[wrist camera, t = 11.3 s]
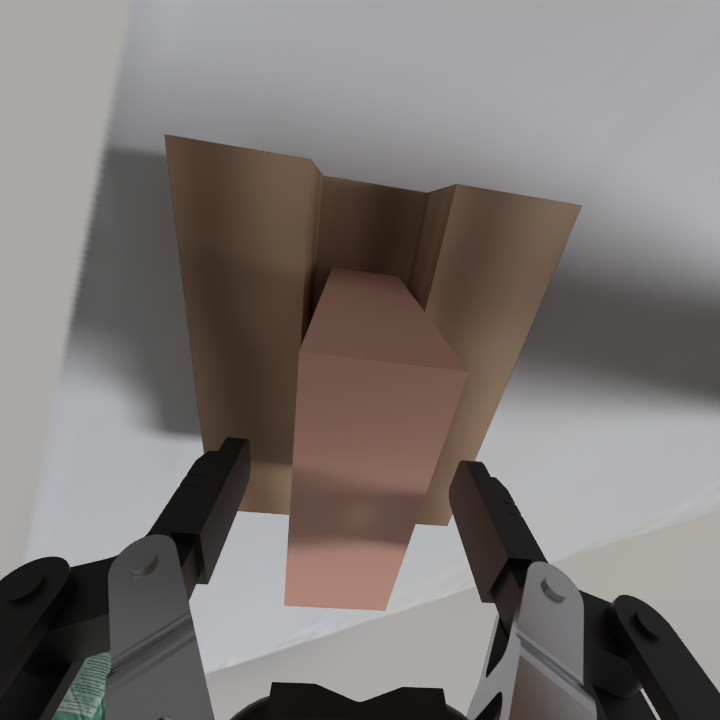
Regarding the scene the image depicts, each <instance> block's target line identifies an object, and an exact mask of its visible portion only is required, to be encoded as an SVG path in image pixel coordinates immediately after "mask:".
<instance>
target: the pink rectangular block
mask: <svg viewBox="0 0 720 720" xmlns="http://www.w3.org/2000/svg"><path fill="white" fill-rule="evenodd" d="M468 373H469V371H468V370H467V369H466V367H465V366H464V365H463V363H462V362H461V361H460V359H459V358H458V357H457V355H456V354H455V353H454V351H453V350H452V348H451V347H450V346H449V344H448V343H447V342H446V340H445V339H444V338H443V336H442V335H441V334H440V332H439V331H438V330H437V328H436V327H435V325H434V324H433V323H432V321H431V320H430V319H429V317H428V316H427V315H426V313H425V312H424V311H423V309H422V308H421V306H420V305H419V304H418V302H417V301H416V300H415V298H414V297H413V296H412V294H411V293H410V292H409V290H408V289H407V288H406V286H405V285H404V283H403V282H402V281H401V279H400V278H399V277H397V276H391V275H384V274H377V273H370V272H363V271H356V270H349V269H343V268H336V267H332V270H331V272H330V275H329V277H328V280H327V282H326V285H325V287H324V290H323V292H322V295H321V297H320V300H319V302H318V305H317V308H316V310H315V313H314V315H313V318H312V320H311V323H310V325H309V328H308V330H307V333H306V335H305V338H304V340H303V343H302V345H301V348H300V351H299V362H298V379H297V397H296V414H295V431H294V448H293V465H292V482H291V499H290V516H289V533H288V550H287V567H286V584H285V601H284V606H301V607H321V608H341V609H362V610H382V611H385V609H386V606H387V604H388V601H389V598H390V595H391V592H392V589H393V587H394V584H395V581H396V578H397V575H398V572H399V569H400V567H401V564H402V561H403V558H404V555H405V552H406V550H407V547H408V544H409V541H410V538H411V535H412V532H413V530H414V527H415V524H416V521H417V518H418V515H419V513H420V510H421V507H422V504H423V501H424V498H425V495H426V493H427V490H428V487H429V484H430V481H431V478H432V476H433V473H434V470H435V467H436V464H437V461H438V458H439V456H440V453H441V450H442V447H443V444H444V441H445V439H446V436H447V433H448V430H449V427H450V424H451V421H452V419H453V416H454V413H455V410H456V407H457V404H458V402H459V399H460V396H461V393H462V390H463V387H464V384H465V382H466V379H467V376H468Z"/></svg>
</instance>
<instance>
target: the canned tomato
mask: <svg viewBox="0 0 720 720" xmlns="http://www.w3.org/2000/svg"><path fill="white" fill-rule="evenodd" d="M110 669H111V650H110V651H107V652H104V653H101V654H98V655H95V656H92V657H89V658H86V659H85V661H84V663H83V664H82V666H81V668H80V670H79V672H78V673H77V675H76V677H75V679H74V680H73V682H72V684H71V686H70V688H69V689H68V691H67V693H66V695H65V697H64V698H63V700H62V702H61V704H60V705H59V707H58V709H57V711H56V713H55V714H54V716H53V718H52V720H105V683H106V677H107V675H108V674H109V673H110Z"/></svg>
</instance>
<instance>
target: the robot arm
mask: <svg viewBox="0 0 720 720" xmlns="http://www.w3.org/2000/svg"><path fill="white" fill-rule="evenodd" d="M250 472H251V462H250V441H249V439H244V438H233V437H227V438H226V439H225V440H224V442H223V444H222V446H221V447H220V449H219V451H210V450H209V451H207V452H206V453H205V454H204V455H202V456H201V457H200V458H199V459H197V460H196V461H195V463H194V464H193V466H192V467H191V469H190V470H189V472H188V473H187V476H185V478H184V479H183V481H182V482H181V484H180V487H178V489H177V490H176V492H175V493H174V495H173V496H172V498H171V499H170V501H169V502H168V504H167V505H166V507H165V508H164V510H163V511H162V513H161V515H160V516H159V518H158V519H157V521H156V522H155V524H154V525H153V527H152V528H151V530H150V531H149V532H148V534H147V535H146V536H145V537H144V538H141V539H139V540H137V541H135V542H133V543H132V544H130V545H129V546H128V547H126V548H125V549H124V550H123V551H122V552H121V553H120V554H119V555H117V556H114V557H111V558H108V559H104V560H100V561H96V562H91V563H87V564H83V565H79V566H74V567H70V566H69V564H68V563H67V561H66V560H64V559H63V558H60V557H45V558H40V559H37V560H34V561H32V562H29V563H27V564H25V565H23V566H21V567H19V568H17V569H16V570H14V571H13V572H11V573H10V574H8V575H7V576H5V577H4V578H3V579H2V580H1V581H0V720H52V718H53V716H54V714H55V713H56V711H57V709H58V707H59V705H60V704H61V702H62V700H63V698H64V697H65V695H66V693H67V691H68V689H69V688H70V686H71V684H72V682H73V680H74V679H75V677H76V675H77V673H78V672H79V670H80V668H81V666H82V664H83V663H84V661H85V659H86V658H89V657H92V656H95V655H98V654H101V653H104V652H107V651H110V650H111V669H110V673H109V674H108V675H107V677H106V683H105V720H214V715H213V710H212V706H211V701H210V697H209V692H208V688H207V683H206V679H205V674H204V670H203V665H202V661H201V656H200V652H199V647H198V643H197V638H196V634H195V629H194V625H193V620H192V616H191V611H190V607H189V599H190V597H191V595H192V593H193V590H194V588H195V586H196V584H208V583H209V581H210V578H211V576H212V573H213V571H214V568H215V566H216V563H217V561H218V558H219V556H220V553H221V551H222V548H223V546H224V543H225V541H226V538H227V536H228V533H229V531H230V528H231V526H232V523H233V521H234V518H235V516H236V513H237V511H238V508H239V506H240V503H241V501H242V498H243V496H244V493H245V491H246V488H247V486H248V483H249V478H250ZM449 503H450V506H451V509H452V512H453V516H454V519H455V522H456V525H457V528H458V531H459V534H460V537H461V540H462V543H463V546H464V549H465V552H466V555H467V558H468V562H469V565H470V568H471V571H472V574H473V577H474V580H475V583H476V586H477V589H478V592H479V595H480V598H481V601H482V602H485V603H495V605H496V607H497V610H498V614H497V616H496V619H495V622H494V626H493V630H492V634H491V638H490V642H489V646H488V650H487V654H486V658H485V662H484V667H483V670H482V674H481V678H480V681H479V684H478V687H477V690H476V692H475V694H474V696H473V699H472V701H471V704H470V707H469V710H468V713H467V716H466V717H465V716H464V715H463V714H462V713H461V712H459V711H457V710H456V709H454V708H453V707H451V706H449V705H447V704H446V702H445V697H444V692H443V689H441V688H413V687H401V688H399V689H396V690H393V691H390V692H388V693H385V694H382V695H380V696H377V697H374V698H372V699H369V700H366V701H363V702H357V701H354V700H351V699H349V698H347V697H345V696H342V695H340V694H337V693H335V692H333V691H331V690H328V689H326V688H324V687H322V686H319V685H317V684H305V683H280V682H279V683H278V682H272V685H271V691H270V696H268V697H265V698H262V699H259V700H257V701H255V702H253V703H252V704H250V705H248V706H247V707H245V708H244V709H243V710H241V711H240V712H238V713H237V714H236V715H235V716H233V717H232V718H231V719H230V720H657V719H656V718H655V716H654V714H653V712H652V710H651V709H650V707H649V705H648V703H647V701H646V700H645V698H644V696H643V694H642V693H641V691H640V690H641V689H642V688H643V689H644V691H645V692H646V694H647V696H648V698H649V699H650V701H651V703H652V705H653V706H654V708H655V710H656V712H657V713H658V715H659V717H660V718H661V720H720V693H719V692H718V690H717V689H716V687H715V686H714V685H713V683H712V682H711V680H710V679H709V678H708V677H707V675H706V674H705V672H704V671H703V669H702V668H701V667H700V665H699V664H698V663H697V661H696V660H695V658H694V657H693V656H692V654H691V653H690V652H689V650H688V649H687V647H686V646H685V645H684V644H683V642H682V641H681V639H680V638H679V637H678V635H677V634H676V632H675V631H674V630H673V628H672V627H671V626H670V624H669V623H668V622H667V621H666V620H665V619H664V618H663V617H662V616H661V615H660V614H659V613H658V612H657V611H656V610H654V609H653V608H652V607H651V606H649V605H648V604H646V603H645V602H643V601H641V600H639V599H637V598H635V597H632V596H629V595H621V596H619V597H617V598H616V599H615V600H614V601H613V602H612V603H610V602H608V601H605V600H603V599H600V598H598V597H595V596H592V595H590V594H588V593H585V592H583V591H581V590H578V589H577V587H576V586H575V584H574V583H573V582H572V581H571V580H570V578H569V577H568V576H567V575H566V574H564V573H563V572H562V571H560V570H559V569H558V568H556V567H555V566H553V565H551V564H549V563H548V562H547V560H546V558H545V557H544V555H543V553H542V551H541V549H540V548H539V546H538V544H537V542H536V540H535V539H534V537H533V535H532V533H531V531H530V530H529V528H528V526H527V524H526V522H525V521H524V519H523V517H521V513H520V512H519V510H518V508H517V506H516V505H515V502H514V501H513V499H512V497H511V495H510V493H509V492H508V490H507V489H506V488H505V487H504V486H503V485H502V484H501V482H500V481H499V480H498V479H497V478H495V477H490V475H489V473H488V471H487V469H486V467H485V465H484V464H483V463H482V462H476V461H466V460H461V461H460V462H459V464H458V467H457V469H456V472H455V475H454V477H453V480H452V482H451V485H450V488H449Z"/></svg>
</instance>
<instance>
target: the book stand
mask: <svg viewBox="0 0 720 720" xmlns="http://www.w3.org/2000/svg"><path fill="white" fill-rule="evenodd" d="M164 136H165V144H166V152H167V160H168V168H169V176H170V184H171V192H172V200H173V208H174V216H175V224H176V232H177V240H178V248H179V256H180V264H181V272H182V280H183V288H184V296H185V304H186V312H187V320H188V328H189V336H190V345H191V353H192V361H193V369H194V377H195V385H196V393H197V401H198V409H199V417H200V425H201V433H202V441H203V449H204V454H205V453H206V452H207V451H209V450H210V451H219V449H220V447H221V446H222V444H223V442H224V440H225V439H226V438H227V437H233V438H244V439H249V441H250V462H251V472H250V478H249V483H248V486H247V488H246V491H245V493H244V496H243V498H242V501H241V503H240V506H239V508H238V511H245V512H259V513H273V514H287V515H290V499H291V482H292V465H293V448H294V431H295V414H296V397H297V379H298V362H299V351H300V348H301V345H302V343H303V340H304V338H305V335H306V333H307V330H308V328H309V325H310V323H311V320H312V318H313V315H314V313H315V310H316V308H317V305H318V302H319V300H320V297H321V295H322V292H323V290H324V287H325V285H326V282H327V280H328V277H329V275H330V272H331V270H332V267H336V268H343V269H349V270H356V271H363V272H370V273H377V274H384V275H391V276H397V277H399V278H400V279H401V281H402V282H403V283H404V285H405V286H406V288H407V289H408V290H409V292H410V293H411V294H412V296H413V297H414V298H415V300H416V301H417V302H418V304H419V305H420V306H421V308H422V309H423V311H424V312H425V313H426V315H427V316H428V317H429V319H430V320H431V321H432V323H433V324H434V325H435V327H436V328H437V330H438V331H439V332H440V334H441V335H442V336H443V338H444V339H445V340H446V342H447V343H448V344H449V346H450V347H451V348H452V350H453V351H454V353H455V354H456V355H457V357H458V358H459V359H460V361H461V362H462V363H463V365H464V366H465V367H466V369H467V370H468V371H469V373H468V376H467V379H466V382H465V384H464V387H463V390H462V393H461V396H460V399H459V402H458V404H457V407H456V410H455V413H454V416H453V419H452V421H451V424H450V427H449V430H448V433H447V436H446V439H445V441H444V444H443V447H442V450H441V453H440V456H439V458H438V461H437V464H436V467H435V470H434V473H433V476H432V478H431V481H430V484H429V487H428V490H427V493H426V495H425V498H424V501H423V504H422V507H421V510H420V513H419V515H418V518H417V521H416V524H426V525H439V526H448V523H449V521H450V518H451V516H452V514H453V512H452V509H451V506H450V503H449V488H450V485H451V482H452V480H453V477H454V475H455V472H456V469H457V467H458V464H459V462H460V461H461V460H466V461H475V459H476V457H477V454H478V452H479V449H480V447H481V445H482V442H483V440H484V437H485V435H486V433H487V430H488V428H489V426H490V423H491V421H492V418H493V416H494V414H495V411H496V409H497V407H498V404H499V402H500V399H501V397H502V395H503V392H504V390H505V388H506V385H507V383H508V380H509V378H510V376H511V373H512V371H513V368H514V366H515V364H516V361H517V359H518V357H519V354H520V352H521V349H522V347H523V345H524V342H525V340H526V338H527V335H528V333H529V330H530V328H531V326H532V323H533V321H534V319H535V316H536V314H537V311H538V309H539V307H540V304H541V302H542V300H543V297H544V295H545V292H546V290H547V288H548V285H549V283H550V280H551V278H552V276H553V273H554V271H555V269H556V266H557V264H558V261H559V259H560V257H561V254H562V252H563V250H564V247H565V245H566V242H567V240H568V238H569V235H570V233H571V231H572V228H573V226H574V223H575V221H576V219H577V216H578V214H579V211H580V209H581V207H582V205H576V204H570V203H564V202H559V201H553V200H547V199H541V198H535V197H529V196H523V195H517V194H512V193H506V192H500V191H494V190H488V189H482V188H476V187H470V186H465V185H459V184H456V185H452V186H449V187H446V188H442V189H439V190H436V191H432V192H429V193H425V192H419V191H413V190H406V189H400V188H394V187H388V186H382V185H376V184H370V183H364V182H358V181H352V180H346V179H340V178H334V177H328V176H323V175H322V173H321V172H320V171H319V169H318V168H317V167H316V165H315V164H314V163H313V161H312V160H311V159H306V158H300V157H294V156H288V155H282V154H277V153H271V152H265V151H259V150H253V149H247V148H241V147H235V146H230V145H224V144H218V143H212V142H206V141H200V140H194V139H188V138H183V137H177V136H171V135H165V134H164Z"/></svg>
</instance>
